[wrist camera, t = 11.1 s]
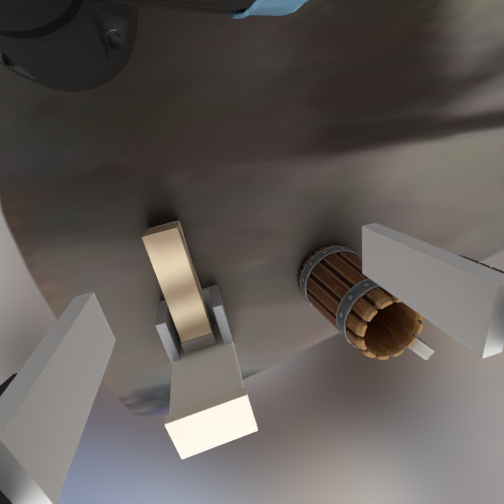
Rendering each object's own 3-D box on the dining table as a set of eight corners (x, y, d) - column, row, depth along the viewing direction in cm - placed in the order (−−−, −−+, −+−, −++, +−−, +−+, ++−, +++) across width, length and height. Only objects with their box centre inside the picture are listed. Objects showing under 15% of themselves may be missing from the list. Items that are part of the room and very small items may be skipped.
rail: (147, 228, 35) (140, 237, 30) (179, 219, 35) (177, 227, 31) (185, 331, 40) (184, 353, 35) (213, 322, 41) (216, 342, 36)
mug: (283, 285, 42) (330, 347, 28) (326, 230, 41) (397, 268, 27) (348, 326, 48) (413, 394, 34) (387, 279, 46) (472, 331, 33)
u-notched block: (159, 301, 39) (143, 383, 25) (217, 283, 40) (234, 352, 26) (183, 361, 43) (181, 459, 29) (235, 343, 44) (258, 430, 30)
